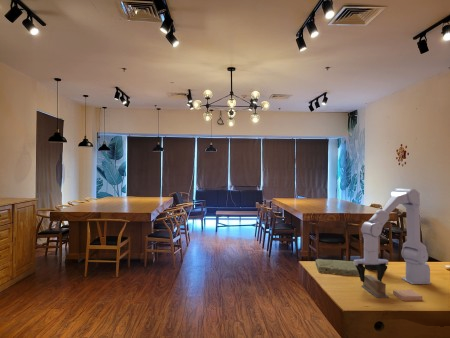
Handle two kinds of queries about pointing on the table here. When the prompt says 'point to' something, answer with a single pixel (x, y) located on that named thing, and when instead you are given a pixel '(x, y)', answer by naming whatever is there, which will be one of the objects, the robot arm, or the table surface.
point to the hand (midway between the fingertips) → (370, 281)
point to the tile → (407, 295)
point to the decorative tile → (336, 267)
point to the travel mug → (373, 267)
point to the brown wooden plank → (374, 285)
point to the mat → (375, 294)
